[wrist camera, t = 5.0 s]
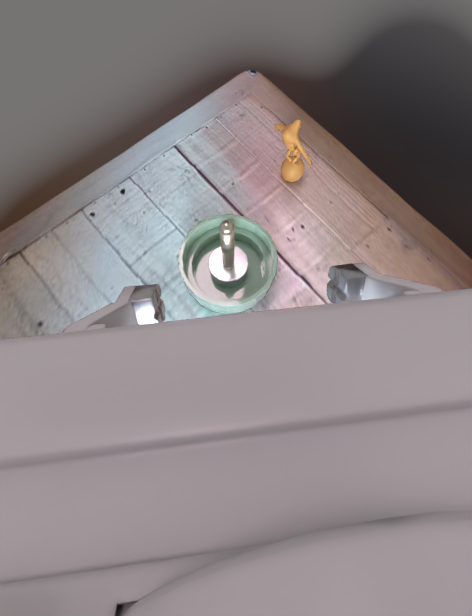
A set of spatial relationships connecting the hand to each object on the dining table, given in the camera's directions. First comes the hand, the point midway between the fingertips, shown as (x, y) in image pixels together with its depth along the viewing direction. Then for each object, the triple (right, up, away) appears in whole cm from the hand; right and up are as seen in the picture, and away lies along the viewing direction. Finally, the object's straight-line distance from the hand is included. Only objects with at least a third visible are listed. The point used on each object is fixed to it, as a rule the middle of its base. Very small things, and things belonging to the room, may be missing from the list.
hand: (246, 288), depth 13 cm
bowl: (-2, +5, +30) cm, 31 cm away
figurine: (+8, +22, +35) cm, 42 cm away
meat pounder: (-2, +5, +30) cm, 31 cm away
